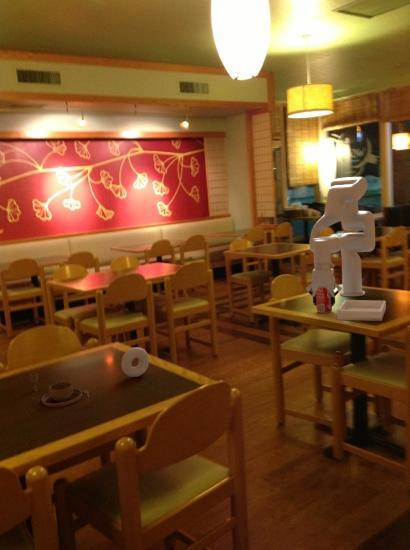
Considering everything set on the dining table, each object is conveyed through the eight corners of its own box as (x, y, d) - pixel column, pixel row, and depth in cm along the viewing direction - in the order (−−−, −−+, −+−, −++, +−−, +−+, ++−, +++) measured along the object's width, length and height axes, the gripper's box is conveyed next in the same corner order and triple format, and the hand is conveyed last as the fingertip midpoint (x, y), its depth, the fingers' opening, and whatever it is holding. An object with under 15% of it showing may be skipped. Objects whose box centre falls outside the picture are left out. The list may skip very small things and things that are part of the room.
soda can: (331, 309, 246) (330, 284, 244) (333, 313, 239) (332, 287, 237) (315, 310, 247) (314, 284, 245) (317, 314, 240) (316, 287, 238)
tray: (344, 308, 246) (344, 300, 245) (385, 309, 239) (385, 300, 238) (337, 319, 228) (337, 310, 227) (381, 320, 221) (381, 311, 220)
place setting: (33, 414, 153) (30, 395, 152) (29, 391, 172) (26, 374, 171) (93, 401, 159) (91, 383, 158) (84, 380, 178) (82, 364, 177)
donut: (126, 381, 172) (123, 352, 171) (120, 379, 175) (117, 350, 174) (152, 373, 178) (149, 344, 177) (147, 371, 181) (144, 342, 179)
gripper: (343, 265, 239) (345, 303, 242) (305, 265, 246) (307, 303, 249) (341, 267, 232) (342, 307, 235) (301, 268, 240) (303, 306, 242)
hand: (324, 304), depth 242 cm, fingers closed on soda can, 7 cm apart
